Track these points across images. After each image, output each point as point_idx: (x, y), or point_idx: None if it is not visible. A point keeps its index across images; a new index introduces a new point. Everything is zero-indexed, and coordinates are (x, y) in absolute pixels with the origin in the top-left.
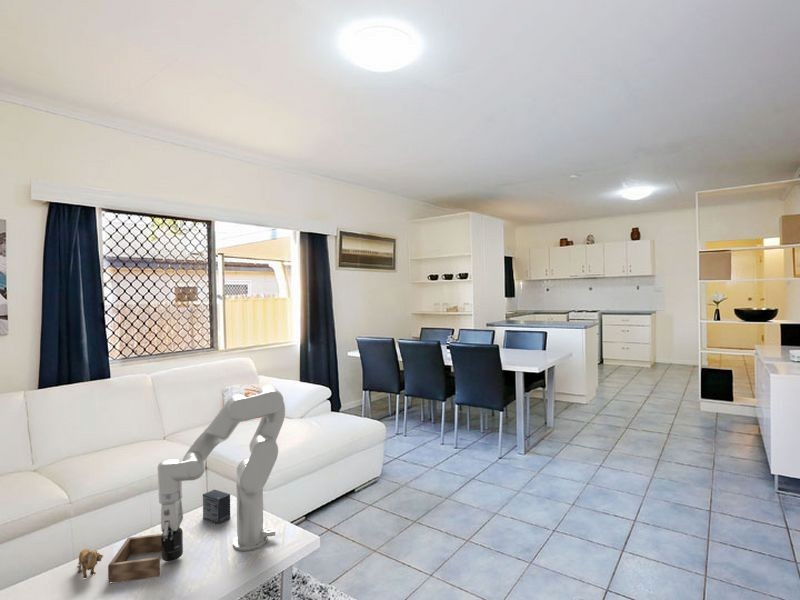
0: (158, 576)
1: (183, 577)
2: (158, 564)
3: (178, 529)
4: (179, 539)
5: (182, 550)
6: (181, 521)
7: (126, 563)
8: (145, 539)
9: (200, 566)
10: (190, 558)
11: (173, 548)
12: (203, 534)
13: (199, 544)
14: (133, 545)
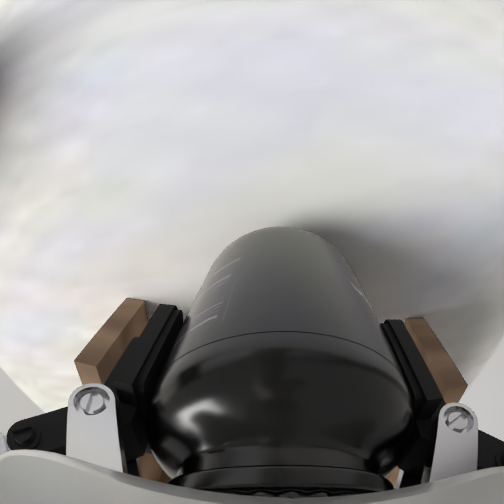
0: (424, 320)
1: (487, 184)
2: (452, 362)
3: (308, 439)
4: (366, 323)
5: (293, 235)
6: (143, 495)
7: (394, 486)
8: (141, 460)
9: (416, 85)
10: (289, 159)
11: (403, 331)
12: (17, 148)
13: (108, 135)
14: (159, 469)
